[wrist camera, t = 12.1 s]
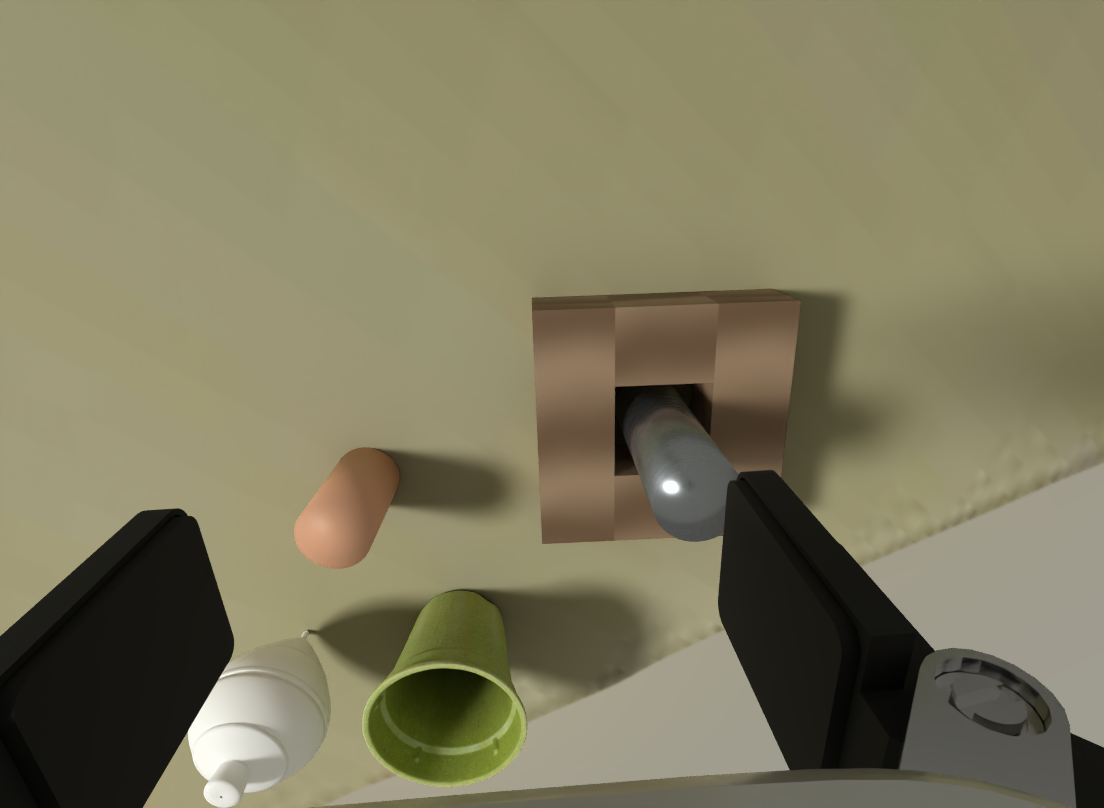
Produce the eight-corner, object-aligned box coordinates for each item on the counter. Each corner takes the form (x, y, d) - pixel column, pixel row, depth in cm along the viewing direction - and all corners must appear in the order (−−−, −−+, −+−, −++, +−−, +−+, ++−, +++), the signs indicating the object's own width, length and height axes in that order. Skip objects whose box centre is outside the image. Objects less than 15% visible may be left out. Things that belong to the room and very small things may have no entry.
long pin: (615, 376, 35) (654, 460, 24) (680, 374, 35) (749, 456, 24) (614, 437, 37) (651, 543, 25) (677, 434, 37) (742, 539, 25)
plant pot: (518, 560, 40) (514, 655, 31) (535, 667, 43) (536, 778, 35) (383, 576, 40) (344, 675, 32) (410, 682, 43) (381, 796, 35)
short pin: (331, 449, 36) (287, 504, 30) (395, 446, 36) (365, 501, 30) (341, 505, 38) (301, 570, 31) (403, 502, 38) (376, 566, 31)
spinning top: (377, 610, 41) (317, 770, 29) (340, 687, 43) (271, 863, 31) (270, 571, 39) (164, 723, 28) (238, 652, 41) (127, 823, 30)
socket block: (532, 298, 34) (532, 310, 30) (771, 288, 34) (801, 300, 30) (541, 509, 38) (542, 543, 34) (750, 500, 39) (774, 533, 35)
